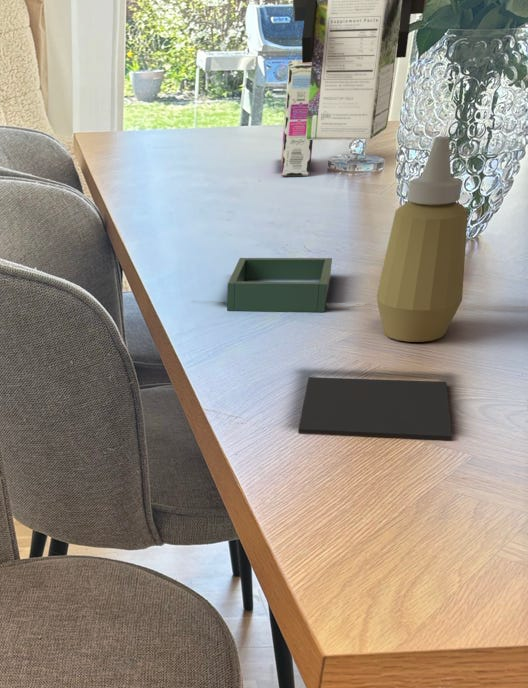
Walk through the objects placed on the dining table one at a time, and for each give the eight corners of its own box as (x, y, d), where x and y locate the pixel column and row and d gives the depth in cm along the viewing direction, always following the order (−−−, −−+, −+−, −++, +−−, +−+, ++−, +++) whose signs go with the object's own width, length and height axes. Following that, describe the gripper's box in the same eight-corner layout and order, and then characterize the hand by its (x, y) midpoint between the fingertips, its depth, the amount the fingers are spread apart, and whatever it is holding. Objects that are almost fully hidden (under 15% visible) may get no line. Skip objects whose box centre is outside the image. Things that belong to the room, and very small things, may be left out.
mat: (445, 385, 89) (446, 381, 88) (451, 440, 79) (452, 436, 79) (308, 381, 92) (308, 376, 92) (298, 433, 82) (298, 428, 82)
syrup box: (323, 130, 90) (337, -66, 81) (389, 129, 87) (411, -73, 79) (304, 141, 86) (317, -64, 77) (373, 141, 83) (395, -71, 75)
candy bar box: (311, 176, 167) (320, 64, 157) (281, 177, 168) (288, 66, 158) (309, 163, 176) (317, 57, 166) (280, 165, 177) (287, 59, 167)
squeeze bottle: (355, 337, 101) (377, 141, 90) (399, 317, 105) (425, 128, 94) (428, 353, 95) (460, 148, 85) (471, 331, 100) (507, 133, 89)
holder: (329, 284, 116) (332, 258, 114) (324, 312, 108) (327, 284, 106) (238, 283, 119) (239, 257, 117) (226, 310, 111) (227, 283, 109)
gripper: (500, -168, 84) (477, 75, 81) (265, -142, 89) (234, 86, 86) (518, -260, 77) (493, 2, 73) (261, -226, 82) (227, 19, 79)
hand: (354, 47), depth 80 cm, fingers closed on syrup box, 7 cm apart
